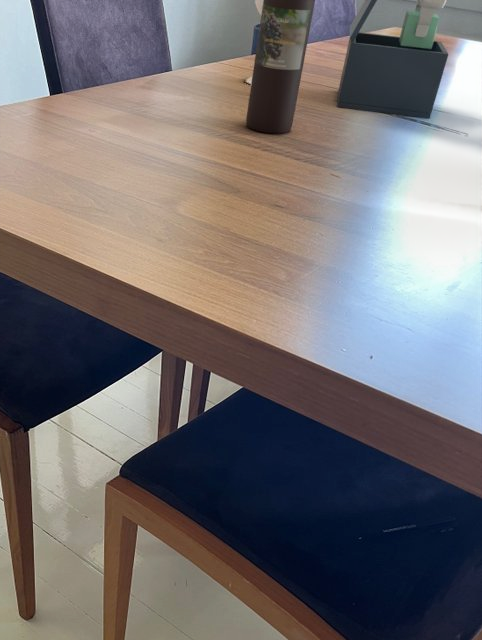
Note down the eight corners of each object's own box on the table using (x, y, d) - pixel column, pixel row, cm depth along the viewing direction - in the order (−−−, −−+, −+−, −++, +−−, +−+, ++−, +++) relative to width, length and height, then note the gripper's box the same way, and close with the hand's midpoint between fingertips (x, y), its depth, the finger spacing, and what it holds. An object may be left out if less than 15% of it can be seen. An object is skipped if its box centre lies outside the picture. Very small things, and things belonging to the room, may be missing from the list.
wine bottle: (236, 126, 111) (271, -124, 93) (261, 119, 116) (299, -121, 97) (275, 137, 108) (319, -120, 89) (299, 129, 112) (346, -117, 94)
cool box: (424, 102, 133) (441, 41, 127) (429, 118, 124) (448, 54, 118) (338, 91, 135) (351, 31, 129) (337, 106, 126) (351, 42, 120)
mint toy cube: (428, 44, 125) (437, 14, 122) (431, 49, 121) (439, 18, 118) (398, 40, 125) (406, 10, 123) (400, 45, 122) (408, 14, 119)
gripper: (474, -63, 105) (443, 45, 114) (458, -69, 121) (432, 26, 129) (430, -67, 106) (402, 41, 114) (419, -73, 122) (396, 22, 130)
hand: (418, 33), depth 122 cm, fingers closed on mint toy cube, 5 cm apart
